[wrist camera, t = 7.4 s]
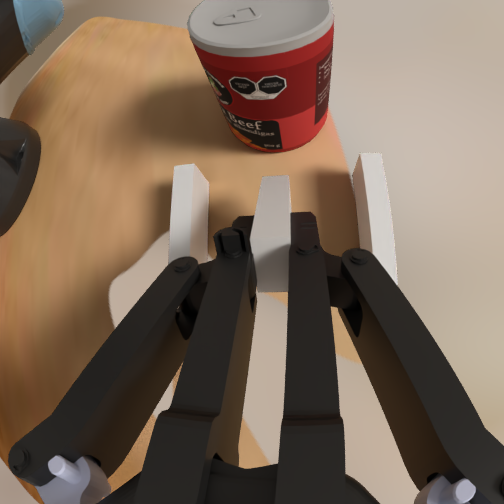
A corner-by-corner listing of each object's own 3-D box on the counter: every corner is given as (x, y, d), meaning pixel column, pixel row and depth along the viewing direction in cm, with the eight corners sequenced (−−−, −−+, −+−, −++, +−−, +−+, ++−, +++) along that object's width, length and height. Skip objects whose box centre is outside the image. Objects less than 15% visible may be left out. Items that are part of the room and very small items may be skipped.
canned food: (213, 111, 23) (166, 15, 13) (290, 69, 23) (277, -31, 12) (262, 175, 22) (228, 72, 11) (346, 124, 21) (364, 15, 11)
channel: (382, 300, 19) (398, 299, 15) (188, 305, 21) (167, 305, 17) (370, 175, 20) (381, 152, 17) (191, 185, 22) (174, 166, 19)
